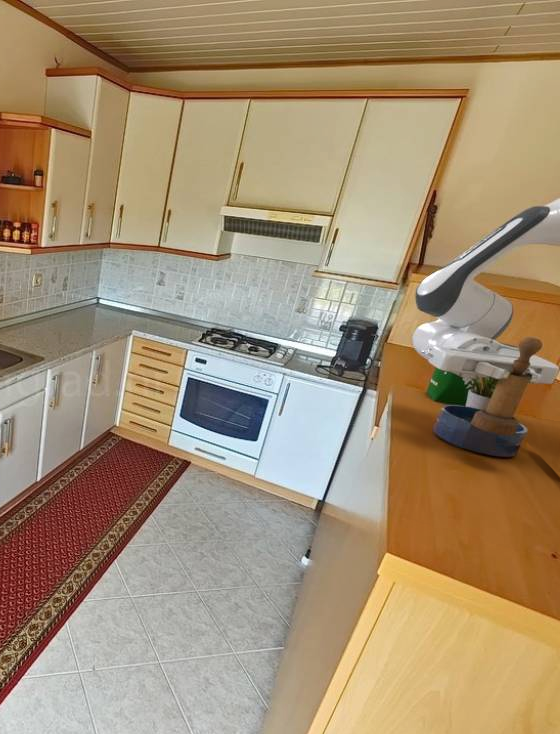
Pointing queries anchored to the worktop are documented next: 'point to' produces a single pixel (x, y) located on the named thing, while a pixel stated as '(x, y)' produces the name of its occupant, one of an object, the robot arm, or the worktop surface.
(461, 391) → the milk carton
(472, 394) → the house plant
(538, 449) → the worktop surface
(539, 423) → the worktop surface
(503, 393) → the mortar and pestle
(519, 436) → the bowl
